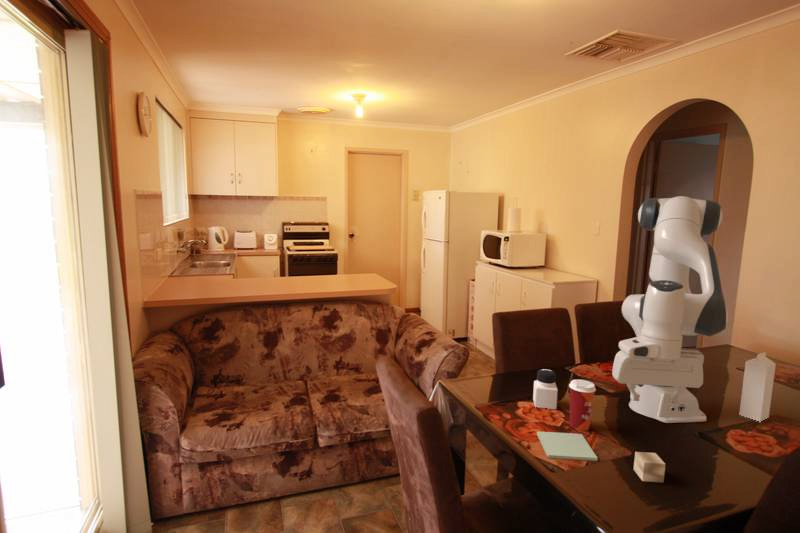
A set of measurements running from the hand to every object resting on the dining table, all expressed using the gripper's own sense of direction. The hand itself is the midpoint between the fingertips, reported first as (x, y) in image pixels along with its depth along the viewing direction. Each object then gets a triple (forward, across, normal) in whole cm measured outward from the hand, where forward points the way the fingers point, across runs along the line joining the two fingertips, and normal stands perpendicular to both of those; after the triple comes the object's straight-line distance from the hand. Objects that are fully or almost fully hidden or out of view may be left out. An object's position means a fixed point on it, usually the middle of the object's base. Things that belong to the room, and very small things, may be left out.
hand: (654, 401), depth 109 cm
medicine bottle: (+20, +16, -40) cm, 47 cm away
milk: (+19, -52, -39) cm, 68 cm away
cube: (+20, 0, 0) cm, 20 cm away
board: (+20, +17, -12) cm, 29 cm away
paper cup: (+20, +9, -25) cm, 33 cm away
